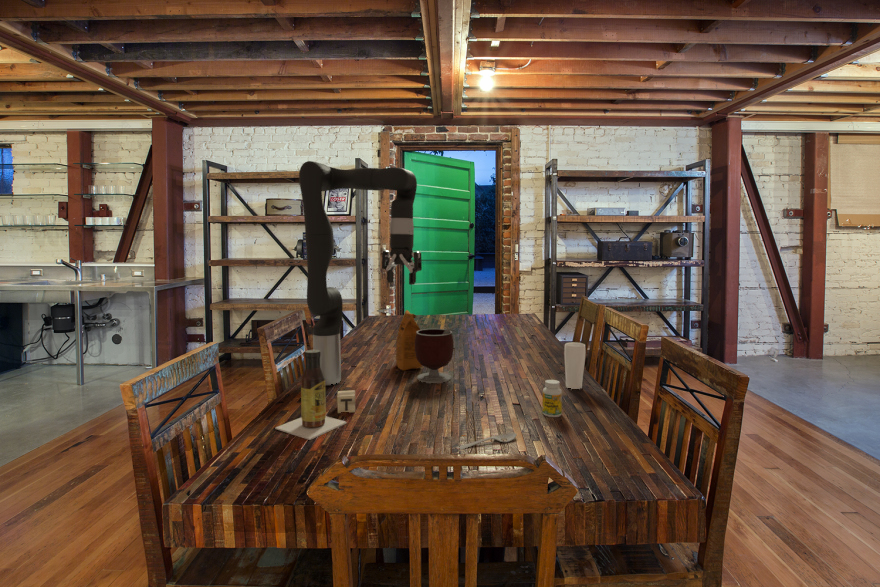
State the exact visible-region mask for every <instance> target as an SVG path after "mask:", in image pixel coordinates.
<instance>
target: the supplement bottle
mask: <svg viewBox="0 0 880 587" xmlns="http://www.w3.org/2000/svg"><path fill="white" fill-rule="evenodd" d="M544 381H545V382H544V386H545V387H544V388H542V400H541V401H542V402H541V403H542V406H541V407H542V410H541V414H543V415H544V416H545V417H549V418H559V417H561V416H562V412H563V411H562V407H563V390H562V389H561V388H560V386H561V384H560V381H559V380H556V379H546V380H544Z"/></svg>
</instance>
